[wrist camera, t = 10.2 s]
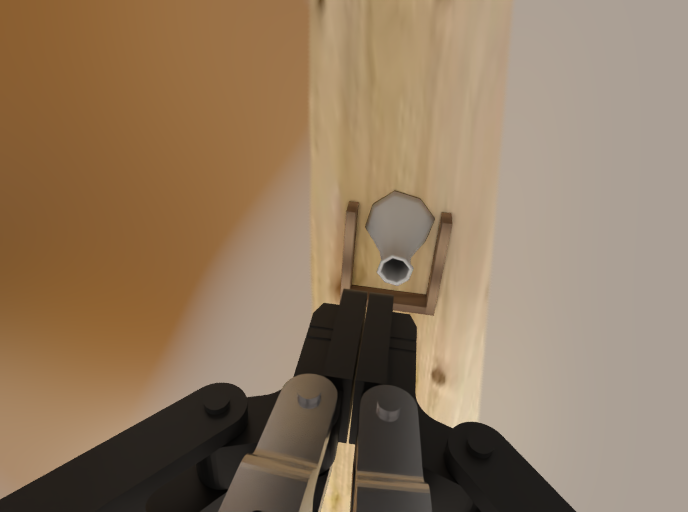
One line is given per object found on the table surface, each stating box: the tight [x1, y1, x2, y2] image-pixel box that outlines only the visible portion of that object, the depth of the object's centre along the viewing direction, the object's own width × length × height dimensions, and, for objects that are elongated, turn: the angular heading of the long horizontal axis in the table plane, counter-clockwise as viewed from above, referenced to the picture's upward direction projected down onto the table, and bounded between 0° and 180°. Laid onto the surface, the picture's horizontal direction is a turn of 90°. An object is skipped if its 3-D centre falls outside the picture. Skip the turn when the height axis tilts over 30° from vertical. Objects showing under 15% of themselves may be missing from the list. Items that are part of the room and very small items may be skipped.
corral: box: [340, 201, 452, 316], centre depth 55 cm, size 12×11×2 cm
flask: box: [365, 191, 435, 286], centre depth 49 cm, size 7×7×10 cm
